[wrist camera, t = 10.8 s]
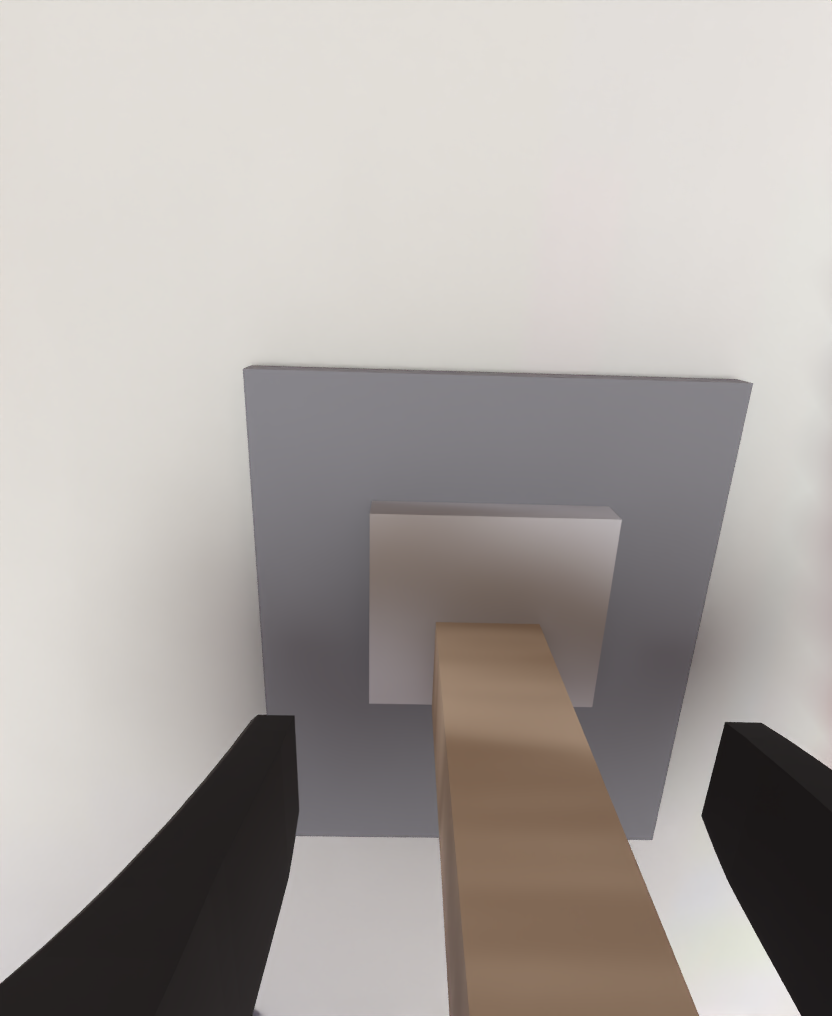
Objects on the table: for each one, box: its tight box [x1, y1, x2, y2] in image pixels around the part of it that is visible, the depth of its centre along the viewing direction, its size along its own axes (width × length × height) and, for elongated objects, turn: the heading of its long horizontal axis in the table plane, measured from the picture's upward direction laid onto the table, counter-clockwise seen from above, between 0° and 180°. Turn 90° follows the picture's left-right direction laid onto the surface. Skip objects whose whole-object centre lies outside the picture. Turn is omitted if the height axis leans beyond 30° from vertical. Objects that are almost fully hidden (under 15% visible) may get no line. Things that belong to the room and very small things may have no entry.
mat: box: [243, 366, 753, 840], centre depth 14 cm, size 12×10×1 cm
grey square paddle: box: [369, 501, 699, 1016], centre depth 9 cm, size 5×5×8 cm
